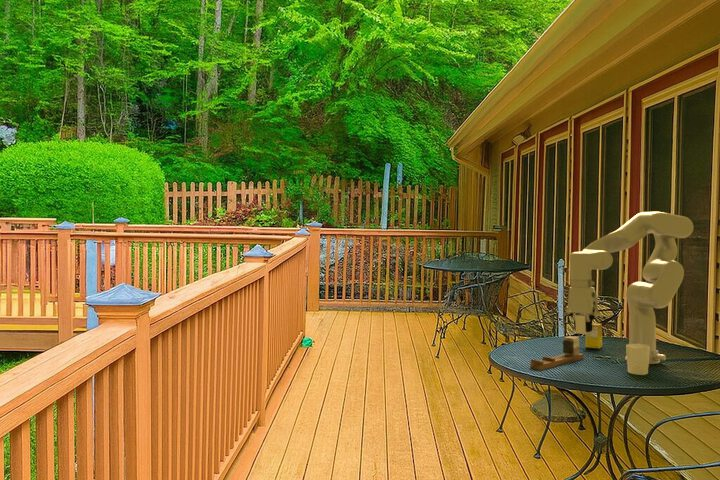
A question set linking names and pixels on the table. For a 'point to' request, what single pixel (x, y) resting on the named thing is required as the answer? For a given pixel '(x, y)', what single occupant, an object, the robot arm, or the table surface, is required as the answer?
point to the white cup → (637, 358)
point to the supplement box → (594, 337)
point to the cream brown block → (581, 324)
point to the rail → (570, 355)
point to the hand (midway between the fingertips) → (583, 330)
